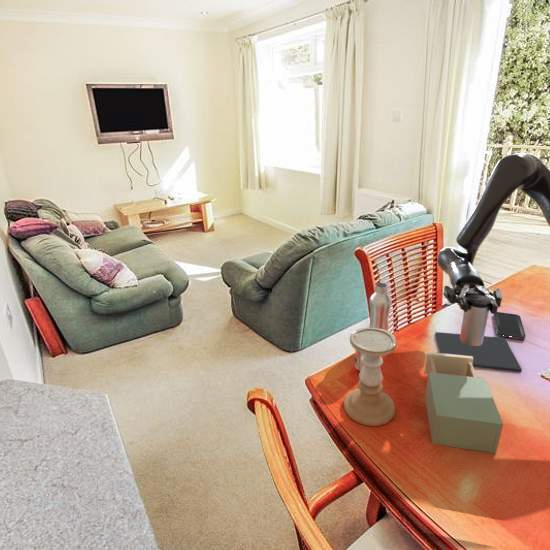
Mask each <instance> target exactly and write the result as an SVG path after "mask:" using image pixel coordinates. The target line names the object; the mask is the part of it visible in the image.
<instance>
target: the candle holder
mask: <svg viewBox="0 0 550 550" xmlns="http://www.w3.org/2000/svg"><path fill="white" fill-rule="evenodd" d="M349 343H350V346H351V347H352V348H353V349H354V350H357V351H359V352H361V353H363V354H364V355H363V356H362V357H361V362H362V363H363V366H362V369H361V371H359V374H358V379H359V381H358V382H357V388H355V389H352V390H351V391H349V392H348V393H347V394H346V396H345V397H344V399H343V408H344V412H345V413H346V414H347V416H348V417H349V418H350V419H351V420H353V421H354V422H356V423H358V424H360V425H363V426H368V427H380V426H383V425H386V424H388V423H390V422H391V420H392V419H393V418H394V416H395V413H396V405H395V403H394V401H393V399H392V398H391V396H389V395H388V394H387V393H385V392H384V391H383V389H384V386H383V381H384V377H383V372H382V370H381V367H382V365H383V363H384V360H383V357H382V356H386V355H389V354H391V353H393V352H394V351H396V349H397V346H398V341H397V338H396V336H395V335H394V334H392V333H391V332H390V331H389V332H388V331H386V330H383V329H379V328H371V327H361V328H358V329H356V330H354V331H352V333H351V334H350V335H349Z"/></svg>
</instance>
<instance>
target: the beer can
mask: <svg viewBox="0 0 550 550" xmlns="http://www.w3.org/2000/svg"><path fill="white" fill-rule="evenodd" d="M354 350H355V349H354ZM363 355H364V354H363V353H361V352H359V351H357V350H355V353H354V368H355V369H356V370H357V371H359V372H360V371H361V369H362V366H363V363H362V362H361V357H362V356H363Z"/></svg>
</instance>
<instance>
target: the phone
mask: <svg viewBox="0 0 550 550" xmlns="http://www.w3.org/2000/svg"><path fill="white" fill-rule="evenodd" d="M493 315H494V316H493V321H494V320H495V323H494V327H496V329H495V334H497V335H498V336H497V335H496V336H497V337H500V336H501V337H500V338H506V337H509V336H512V337H509V338H508V339H512V338H517V339H516V340H518V339H525V340H526V332H525V329H524V328H525V327H524V325H523V322H522V318H521V316H520V315H519V314H515V313H509V312H502V311H497V312H495V314H493ZM503 335H504V336H503Z"/></svg>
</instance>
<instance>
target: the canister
mask: <svg viewBox="0 0 550 550" xmlns="http://www.w3.org/2000/svg"><path fill="white" fill-rule="evenodd" d="M466 300H467V302H468V311H467V312H464V311H463V317H462V322H461V327H460V333H459V334H460V340H461V341H462V342H463V343H465V344H467V345H470V346H479V345H482V343H483V339H484V336H485V335H486V329H487V323H488V318H489V313H490V310H489V309H490V305H491V300H490V299H489V298H488V297H485V296H482V295H468V296H467V297H466Z"/></svg>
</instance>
